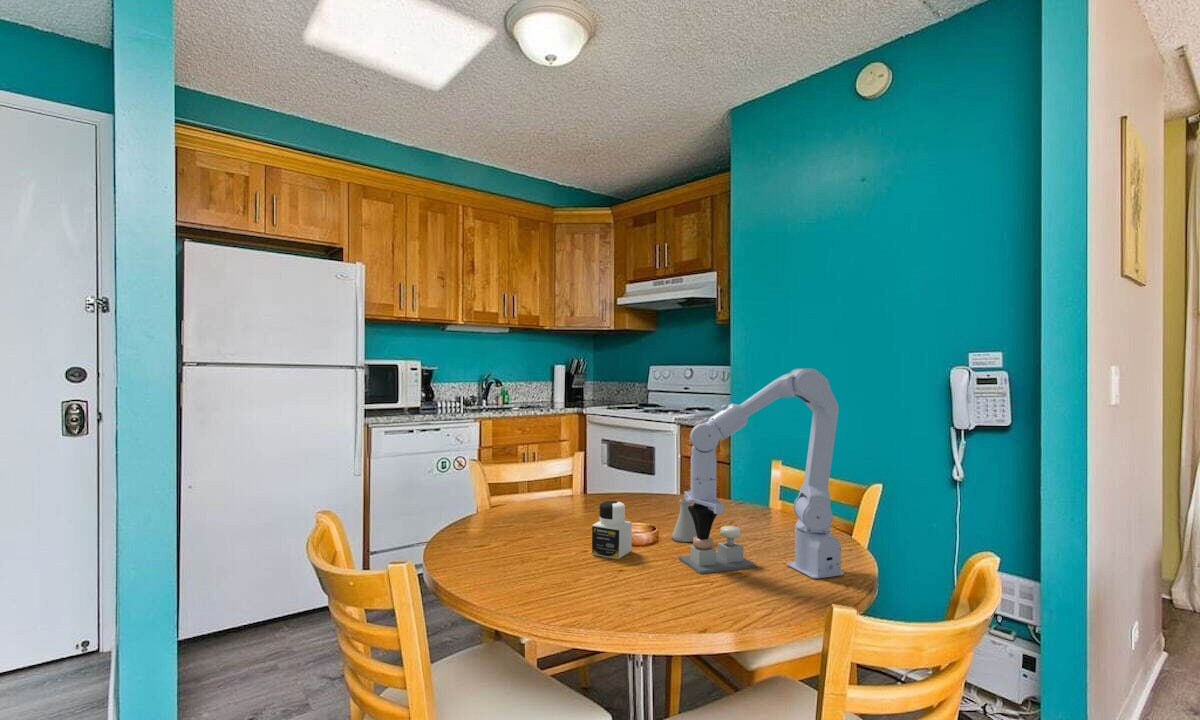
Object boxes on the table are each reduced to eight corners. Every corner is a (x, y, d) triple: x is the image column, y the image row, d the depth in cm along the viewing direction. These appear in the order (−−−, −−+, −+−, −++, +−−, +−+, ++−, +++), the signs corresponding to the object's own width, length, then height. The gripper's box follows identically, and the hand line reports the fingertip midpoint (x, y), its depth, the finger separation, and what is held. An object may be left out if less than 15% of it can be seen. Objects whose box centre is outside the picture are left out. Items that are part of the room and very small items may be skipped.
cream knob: (744, 550, 134) (744, 530, 134) (726, 552, 132) (727, 531, 132) (733, 544, 138) (733, 525, 138) (716, 546, 136) (716, 526, 136)
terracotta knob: (716, 560, 131) (716, 540, 131) (699, 562, 130) (699, 542, 130) (706, 554, 135) (706, 535, 135) (689, 556, 134) (689, 536, 134)
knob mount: (756, 567, 131) (756, 549, 131) (699, 573, 127) (700, 556, 127) (731, 553, 141) (731, 537, 141) (678, 559, 136) (678, 542, 136)
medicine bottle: (591, 555, 139) (591, 503, 139) (605, 546, 145) (605, 497, 145) (618, 559, 135) (619, 507, 136) (631, 551, 142) (632, 501, 142)
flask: (698, 535, 156) (698, 497, 156) (700, 543, 148) (700, 503, 148) (670, 534, 156) (671, 496, 156) (671, 542, 149) (671, 502, 149)
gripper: (672, 473, 138) (672, 531, 138) (703, 485, 125) (703, 550, 124) (699, 471, 141) (699, 529, 140) (732, 483, 127) (732, 546, 127)
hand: (702, 538), depth 133 cm, fingers closed, pressing on terracotta knob
